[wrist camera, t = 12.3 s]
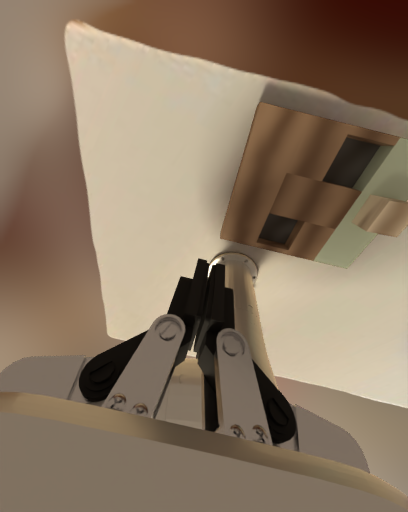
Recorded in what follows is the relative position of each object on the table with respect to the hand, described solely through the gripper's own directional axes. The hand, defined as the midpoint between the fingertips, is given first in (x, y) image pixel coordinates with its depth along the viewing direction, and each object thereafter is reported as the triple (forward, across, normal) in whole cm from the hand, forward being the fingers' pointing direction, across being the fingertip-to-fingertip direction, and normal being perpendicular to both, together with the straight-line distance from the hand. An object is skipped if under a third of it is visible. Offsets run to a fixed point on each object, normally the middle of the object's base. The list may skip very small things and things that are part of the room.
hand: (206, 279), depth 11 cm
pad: (+27, -27, -2) cm, 38 cm away
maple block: (+24, -27, -3) cm, 36 cm away
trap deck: (+27, -13, -2) cm, 30 cm away
